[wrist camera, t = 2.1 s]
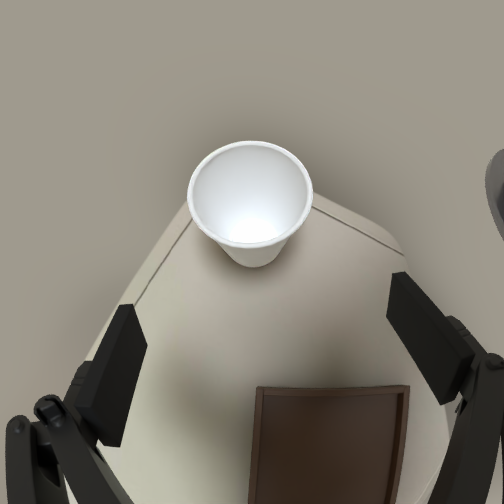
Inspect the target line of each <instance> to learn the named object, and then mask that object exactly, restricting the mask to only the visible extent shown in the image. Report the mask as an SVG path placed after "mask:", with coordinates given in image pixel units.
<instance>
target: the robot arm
mask: <svg viewBox="0 0 504 504" xmlns="http://www.w3.org/2000/svg"><path fill="white" fill-rule="evenodd" d="M386 318H387V319H388V321H389V322H390V324H391V325H392V327H393V328H394V330H395V331H396V333H397V334H398V336H399V338H400V339H401V341H402V342H403V344H404V345H405V347H406V349H407V350H408V352H409V353H410V355H411V357H412V358H413V360H414V362H415V363H416V365H417V367H418V368H419V370H420V371H421V373H422V375H423V376H424V378H425V380H426V382H427V383H428V385H429V387H430V388H431V390H432V392H433V393H434V395H435V397H436V399H437V400H438V402H439V404H440V405H443V404H446V403H448V402H451V401H453V400H455V398H456V396H457V394H458V392H459V391H460V393H461V395H462V396H463V397H462V399H461V401H460V403H459V405H458V406H457V408H456V410H455V413H457V411H458V413H457V418H456V421H455V425H454V429H453V432H452V436H451V439H450V443H449V446H448V449H447V452H446V456H445V459H444V462H443V464H442V467H441V470H440V473H439V476H438V478H437V481H436V484H435V486H434V489H433V491H432V494H431V496H430V499H429V501H428V504H485V502H486V499H487V496H488V492H489V488H490V484H491V480H492V476H493V472H494V468H495V462H496V458H497V453H498V447H499V442H500V435H501V444H502V461H503V462H502V463H503V499H502V504H504V359H503V358H502V357H501V356H499V355H497V354H494V353H487V352H486V351H485V350H484V349H483V347H482V346H481V345H480V344H479V342H477V340H476V339H475V338H474V337H473V336H472V335H471V333H470V332H469V331H468V330H467V329H466V327H465V326H464V325H463V324H462V323H461V322H460V320H458V319H456V318H455V317H453V316H447V317H445V316H444V315H443V313H442V312H441V311H440V310H439V309H438V308H437V306H436V305H435V304H434V303H433V302H432V301H431V300H430V298H429V297H428V296H427V295H426V294H425V293H424V292H423V291H422V289H421V288H420V287H419V286H418V285H417V284H416V283H415V282H414V281H413V280H412V279H411V277H410V276H409V275H408V274H407V273H406V272H405V271H404V272H398V273H392V280H391V287H390V295H389V302H388V308H387V314H386ZM147 346H148V345H147V343H146V340H145V337H144V334H143V332H142V329H141V326H140V323H139V320H138V318H137V315H136V312H135V309H134V306H133V304H124V305H119V307H118V309H117V310H116V312H115V314H114V316H113V319H112V321H111V323H110V325H109V327H108V329H107V331H106V333H105V335H104V337H103V339H102V341H101V343H100V345H99V348H98V350H97V352H96V354H95V356H94V359H93V361H84V363H83V364H82V365H81V366H80V367H79V368H78V369H77V372H76V373H75V376H74V378H73V380H72V382H71V385H70V386H69V389H68V391H67V393H66V395H65V398H64V400H63V402H62V401H61V400H60V398H59V397H58V396H56V395H46V396H44V397H42V398H40V399H39V400H38V402H37V403H36V404H35V406H34V414H35V415H36V417H37V418H38V419H39V420H40V421H38V422H30V421H29V419H27V417H26V416H23V415H17V416H15V417H13V418H12V419H11V420H10V421H9V422H8V424H7V427H6V447H5V448H6V451H5V453H6V454H5V455H6V456H5V457H6V485H7V498H8V504H69V499H68V495H67V490H66V485H65V480H64V476H65V478H66V480H67V482H68V484H69V486H70V489H71V491H72V493H73V495H74V497H75V498H76V500H77V502H78V504H134V503H133V501H132V500H131V499H130V497H129V496H128V494H127V493H126V492H125V490H124V489H123V487H122V486H121V484H120V483H119V481H118V480H117V478H116V477H115V475H114V473H113V472H112V470H111V469H110V467H109V465H108V464H107V462H106V460H105V459H104V457H103V455H102V454H101V452H100V450H99V449H98V448H97V446H96V444H97V440H98V439H99V440H100V442H101V443H102V444H103V445H104V446H110V447H120V446H121V441H122V437H123V433H124V429H125V425H126V421H127V417H128V413H129V410H130V406H131V402H132V398H133V395H134V391H135V387H136V384H137V380H138V377H139V373H140V370H141V366H142V363H143V359H144V356H145V353H146V349H147Z"/></svg>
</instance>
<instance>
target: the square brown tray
mask: <svg viewBox="0 0 504 504" xmlns="http://www.w3.org/2000/svg"><path fill="white" fill-rule="evenodd" d="M409 394H410V386H407V385H395V386H381V387H362V388H276V387H257V388H256V401H255V415H254V429H253V443H252V456H251V469H250V482H249V494H248V504H395V502H396V497H397V492H398V486H399V481H400V475H401V469H402V462H403V455H404V448H405V440H406V431H407V420H408V408H409Z"/></svg>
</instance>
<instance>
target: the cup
mask: <svg viewBox="0 0 504 504" xmlns="http://www.w3.org/2000/svg"><path fill="white" fill-rule="evenodd" d="M312 199H313V189H312V182H311V179H310V177H309V174H308V172H307V170H306V169H305V167H304V166H303V164H302V163H301V162H300V161H299V160H298V159H297V158H296V157H295V156H294V155H293V154H291V153H290V152H288V151H287V150H285V149H283V148H281V147H279V146H277V145H274V144H270V143H267V142H260V141H242V142H236V143H232V144H229V145H226V146H223V147H221V148H219V149H217V150H216V151H214V152H212V153H211V154H209V155H208V156H207V157H206V158H205V159H203V160H202V162H201V163H200V164H199V165H198V166H197V168H196V169H195V171H194V173H193V175H192V177H191V179H190V182H189V186H188V193H187V201H188V207H189V211H190V213H191V215H192V218H193V220H194V221H195V223H196V224H197V226H198V227H199V228H200V229H201V230H202V231H203V232H204V233H205V234H206V235H207V236H208V237H210V238H212V239H214V240H215V241H216V242H217V243H218V244H219V245H220V246H221V247H222V248H223V249H224V251H225V252H226V253H227V254H228V255H229V256H230V257H231V258H232V259H233V260H234V261H235V262H237V263H239V264H240V265H243V266H246V267H260V266H264V265H266V264H268V263H270V262H271V261H272V260H274V259H275V257H276V256H277V255H278V254H279V252H280V251H281V249H282V248H283V246H284V245H285V243H286V242H287V241H288V239H289V238H290V236H291V235H292V234H293V233H295V232H296V230H297V229H298V228H299V227H300V226H301V225H302V224H303V223H304V221H305V219H306V218H307V216H308V214H309V211H310V208H311V205H312Z"/></svg>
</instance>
